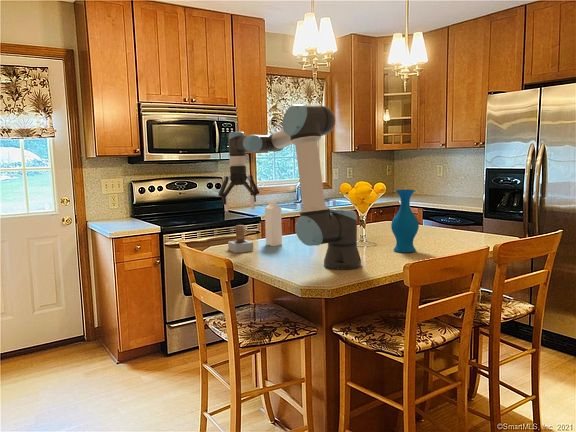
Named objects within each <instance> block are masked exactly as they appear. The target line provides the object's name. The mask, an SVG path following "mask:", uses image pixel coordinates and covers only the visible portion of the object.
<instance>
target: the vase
mask: <svg viewBox="0 0 576 432" xmlns="http://www.w3.org/2000/svg"><path fill="white" fill-rule="evenodd" d="M415 191H416V190H414V189H397V190H395V192H396V193H397V194H398V196H399V198H400V207H399V209H398V211H397V213H396V214H395V215H394V217H393V219H392V220H391V224H390V225H391V226H390V227H391V231H392V234H393V236H394V238H395V240H396V244H395V246H394V248H393V251H394V252H396V253H405V254H407V253H413V252H416V250H417V249H416V247H415V246H414V239H415V237H416V235H417V234H418V231H419V224H420V223H419V221H418V218H417V216H415V214H414V213H413V210H412V209H411V205H410V204H411V203H410V202H411V198H412V195H413V194H414V193H415Z"/></svg>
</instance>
